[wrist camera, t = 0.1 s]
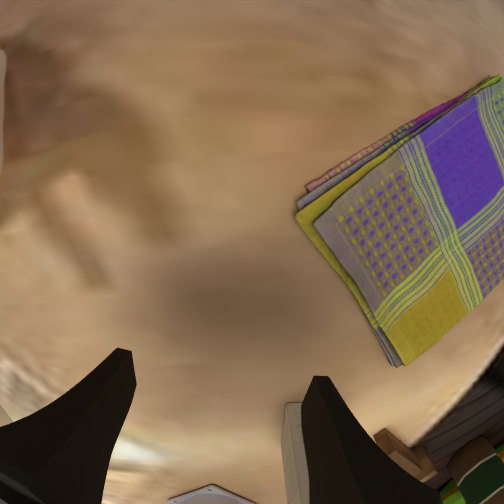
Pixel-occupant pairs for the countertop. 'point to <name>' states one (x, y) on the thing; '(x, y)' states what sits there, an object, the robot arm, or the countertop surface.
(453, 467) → the beer bottle
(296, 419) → the skincare box
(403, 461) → the caddy
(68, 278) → the countertop surface
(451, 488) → the corn
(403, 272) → the dish towel
